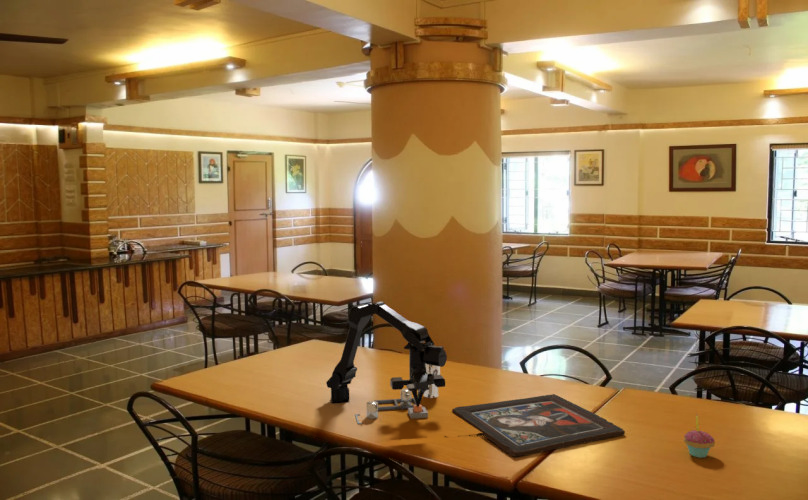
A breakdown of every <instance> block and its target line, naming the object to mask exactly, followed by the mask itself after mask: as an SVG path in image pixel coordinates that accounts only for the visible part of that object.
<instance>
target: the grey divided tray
mask: <svg viewBox="0 0 808 500" xmlns="http://www.w3.org/2000/svg"><path fill="white" fill-rule="evenodd" d="M373 401H376V402H378V412H379V411H382V412H383V411H395V410H396V411H397V410H408V408H414V405H416V403H415V400H414V397H411V403H413V404H411V405H401V398H392V399H391V398H390V399H375V400H373ZM398 403H400V405H399V404H398ZM382 404H383V405H384V404H394V405H387V406H380V405H382Z"/></svg>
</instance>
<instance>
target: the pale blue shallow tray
mask: <svg viewBox="0 0 808 500" xmlns="http://www.w3.org/2000/svg"><path fill="white" fill-rule="evenodd" d="M354 414H355V413H354ZM354 416H355V419H356V420H355V421H356V423H357V425H363V424H364V423H363V422H360V421H359V418H358V416H361V414H360V413H356V414H355V415H354Z"/></svg>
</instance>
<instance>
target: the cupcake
mask: <svg viewBox="0 0 808 500" xmlns="http://www.w3.org/2000/svg"><path fill="white" fill-rule="evenodd" d="M695 414H696V416H695V428H696V429H694V430H690V431H687V432H686V433H685V434H684V438H683V442H684V443H685V444H686V446H687V449H688V452H689V455H691V456H692V457H695V458H703V459H704V458H706V457H707V456H708V454H709V451H710V449H711V448H714V447H715V445H716V441H715V438H714V437H713V436H712V435H711V434H709V433H708V432H705V431H702V430H699V429H700V428H699V416H698V413H695Z"/></svg>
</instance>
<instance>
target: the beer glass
mask: <svg viewBox="0 0 808 500" xmlns="http://www.w3.org/2000/svg"><path fill="white" fill-rule="evenodd" d="M426 372H427V374H433V375H441V367H439V366H433V365H427V364H426ZM428 387H429V390H426V391H425V392H424V394H423V396H424V398H427V399H434V398H438V397H439V396H440V395H439V387H436V386H435V385H434V384H432V385H428Z"/></svg>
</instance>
